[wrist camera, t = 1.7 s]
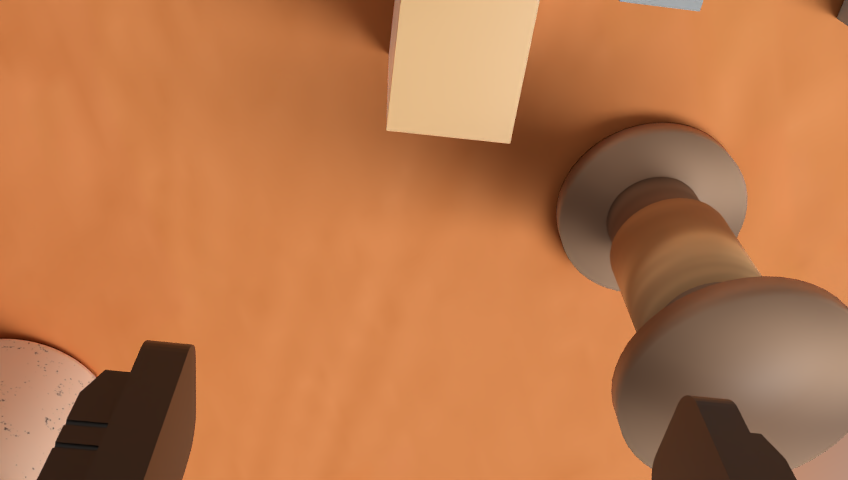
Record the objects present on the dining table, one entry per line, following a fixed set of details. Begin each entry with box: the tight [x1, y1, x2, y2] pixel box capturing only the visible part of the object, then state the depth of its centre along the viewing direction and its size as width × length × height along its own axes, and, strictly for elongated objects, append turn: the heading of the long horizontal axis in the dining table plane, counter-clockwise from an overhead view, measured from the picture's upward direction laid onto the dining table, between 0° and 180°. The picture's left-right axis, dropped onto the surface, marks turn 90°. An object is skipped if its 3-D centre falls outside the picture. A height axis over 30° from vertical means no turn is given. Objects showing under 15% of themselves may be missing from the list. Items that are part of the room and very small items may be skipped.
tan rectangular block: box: [386, 0, 540, 144], centre depth 27 cm, size 5×4×7 cm
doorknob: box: [556, 123, 848, 470], centre depth 30 cm, size 8×8×12 cm
